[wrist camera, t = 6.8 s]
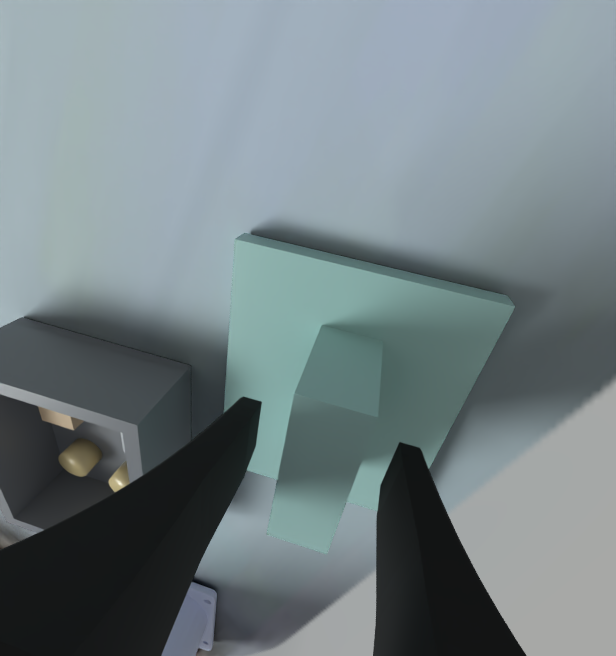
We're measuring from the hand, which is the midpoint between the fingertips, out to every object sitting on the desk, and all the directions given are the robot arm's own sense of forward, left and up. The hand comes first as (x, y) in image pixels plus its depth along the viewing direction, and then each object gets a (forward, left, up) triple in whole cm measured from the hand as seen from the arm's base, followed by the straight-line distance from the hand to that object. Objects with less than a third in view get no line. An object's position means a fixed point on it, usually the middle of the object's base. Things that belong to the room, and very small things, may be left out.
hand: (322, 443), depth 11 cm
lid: (0, 0, -3) cm, 3 cm away
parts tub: (-6, +10, -3) cm, 12 cm away
